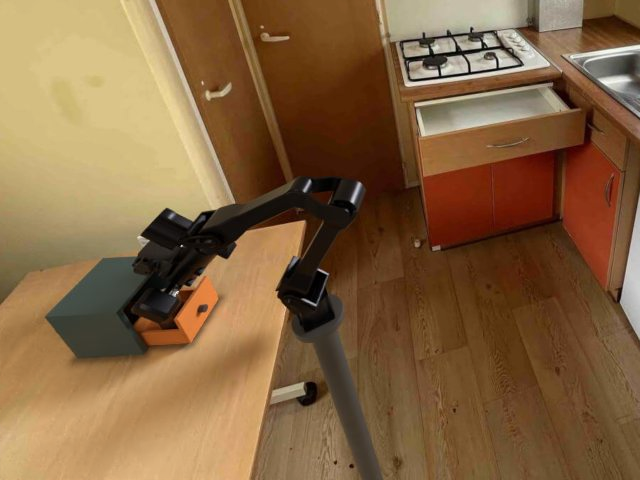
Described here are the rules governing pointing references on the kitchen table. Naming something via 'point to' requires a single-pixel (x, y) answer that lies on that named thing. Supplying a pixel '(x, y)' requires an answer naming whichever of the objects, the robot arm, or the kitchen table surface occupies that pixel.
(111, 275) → the cubby
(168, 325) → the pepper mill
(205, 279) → the drawer
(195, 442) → the kitchen table surface
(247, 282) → the kitchen table surface
